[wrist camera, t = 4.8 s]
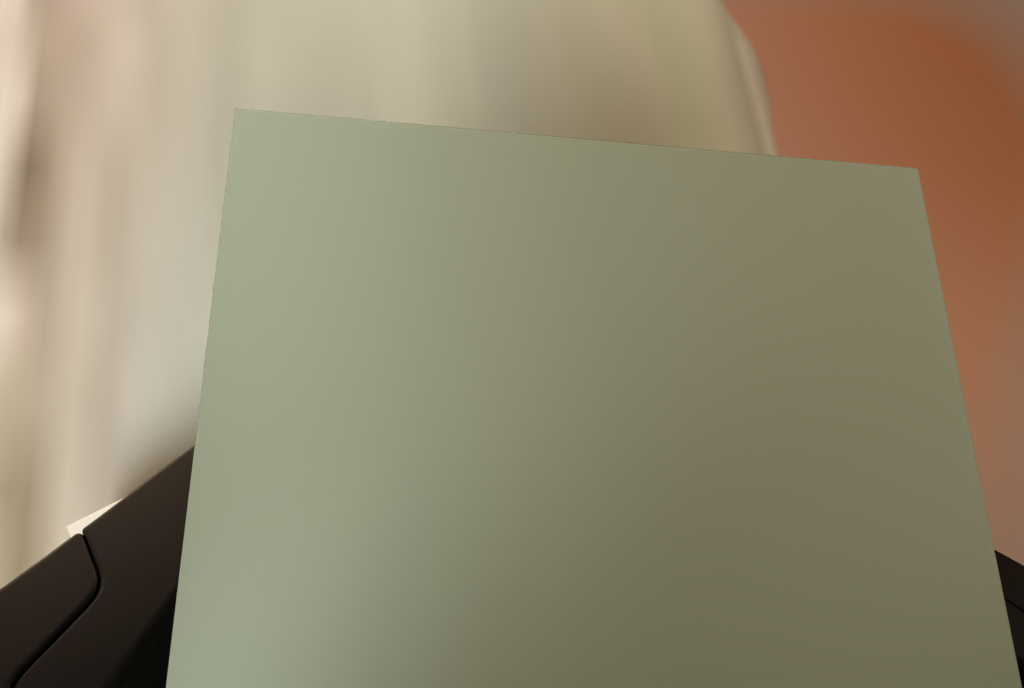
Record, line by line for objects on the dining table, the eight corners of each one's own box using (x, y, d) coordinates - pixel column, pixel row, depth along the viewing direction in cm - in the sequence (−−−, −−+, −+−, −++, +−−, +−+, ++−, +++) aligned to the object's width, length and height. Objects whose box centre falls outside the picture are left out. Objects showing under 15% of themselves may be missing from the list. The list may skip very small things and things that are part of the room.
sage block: (587, 643, 13) (1075, 954, 4) (334, 654, 12) (119, 1090, 3) (578, 401, 14) (918, 168, 5) (349, 397, 14) (235, 109, 4)
